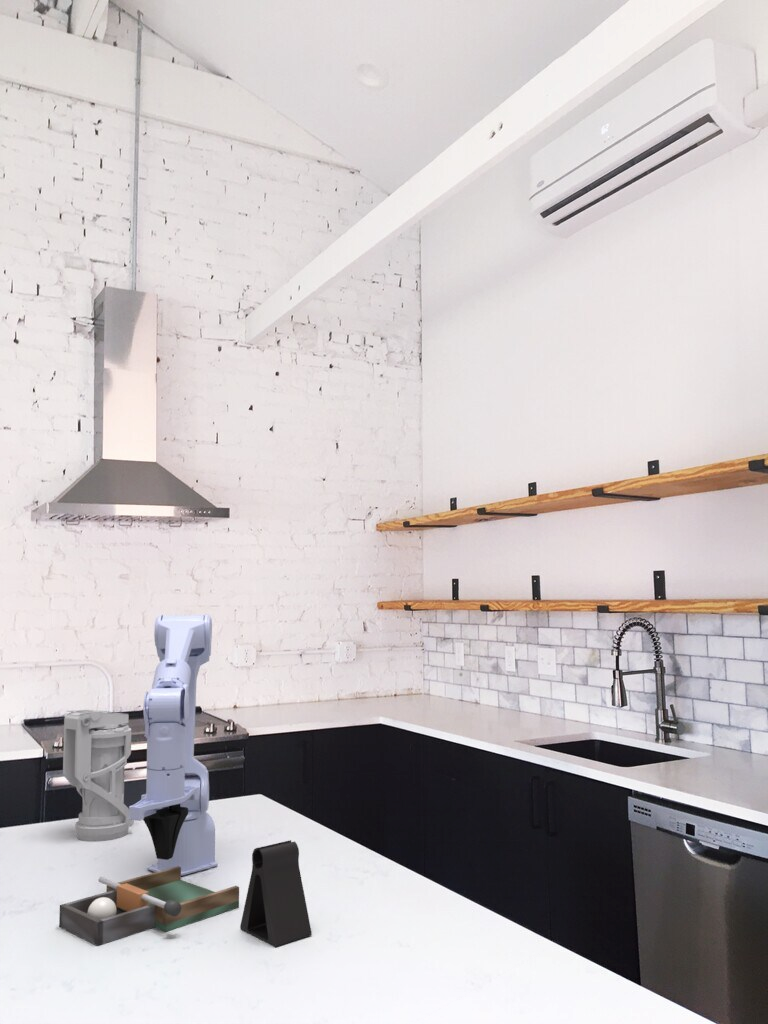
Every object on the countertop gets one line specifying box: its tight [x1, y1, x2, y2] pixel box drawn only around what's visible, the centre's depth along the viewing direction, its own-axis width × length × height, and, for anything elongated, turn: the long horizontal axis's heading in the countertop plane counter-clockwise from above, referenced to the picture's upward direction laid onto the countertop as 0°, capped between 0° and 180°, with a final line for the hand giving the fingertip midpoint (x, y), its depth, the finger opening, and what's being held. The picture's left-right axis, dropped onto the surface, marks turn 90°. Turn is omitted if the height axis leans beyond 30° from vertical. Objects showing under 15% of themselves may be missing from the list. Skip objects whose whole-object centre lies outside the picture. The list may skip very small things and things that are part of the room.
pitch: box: [58, 866, 240, 946], centre depth 131 cm, size 22×16×3 cm
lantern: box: [62, 709, 135, 842], centre depth 176 cm, size 13×10×25 cm
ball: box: [87, 897, 117, 920], centre depth 125 cm, size 4×4×4 cm
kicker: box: [97, 876, 181, 916], centre depth 129 cm, size 2×20×3 cm, turn 48°
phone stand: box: [240, 839, 313, 948], centre depth 124 cm, size 9×6×12 cm, turn 41°
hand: (164, 858), depth 134 cm, fingers closed
